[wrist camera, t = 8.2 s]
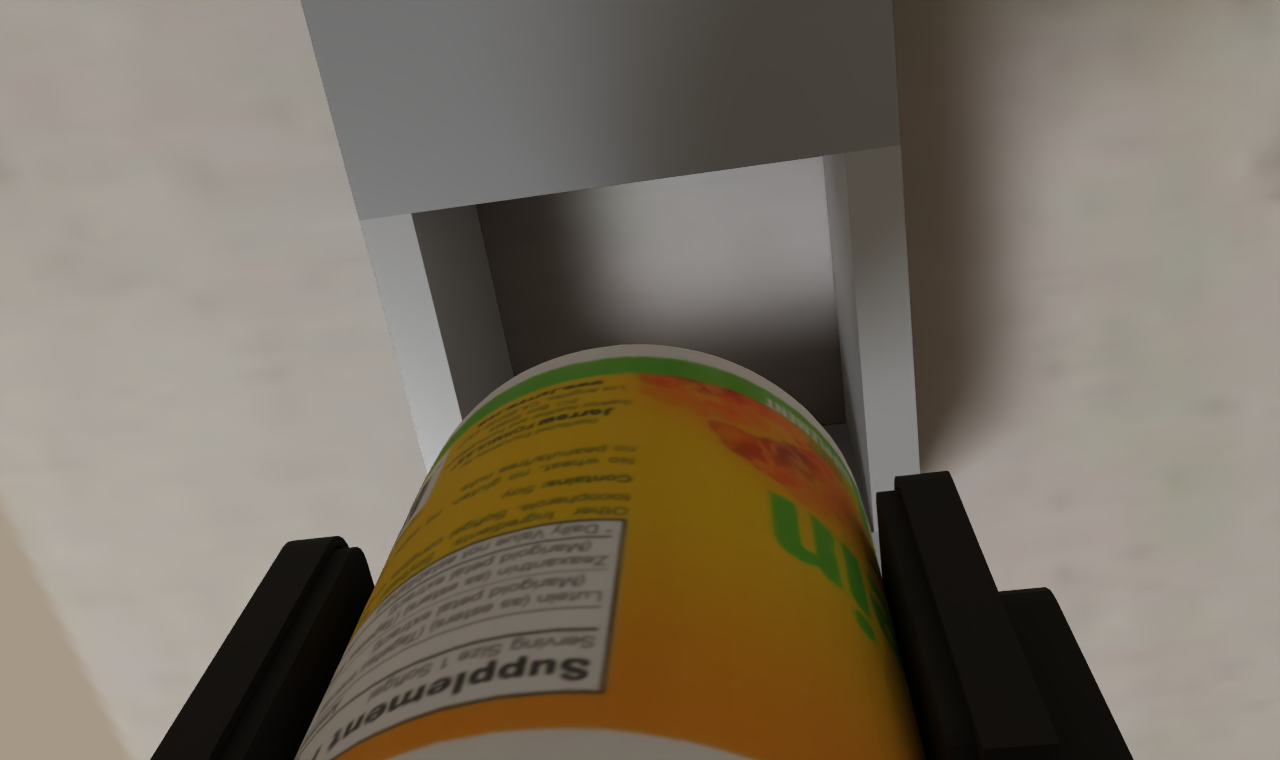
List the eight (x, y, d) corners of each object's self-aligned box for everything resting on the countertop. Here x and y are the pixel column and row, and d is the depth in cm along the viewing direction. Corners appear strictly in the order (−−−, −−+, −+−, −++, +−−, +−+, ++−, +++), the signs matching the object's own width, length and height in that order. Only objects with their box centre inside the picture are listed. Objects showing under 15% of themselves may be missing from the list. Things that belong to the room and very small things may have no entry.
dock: (345, -163, 18) (255, -170, 14) (839, -252, 17) (875, -284, 14) (516, 555, 24) (482, 679, 20) (894, 517, 23) (929, 639, 19)
